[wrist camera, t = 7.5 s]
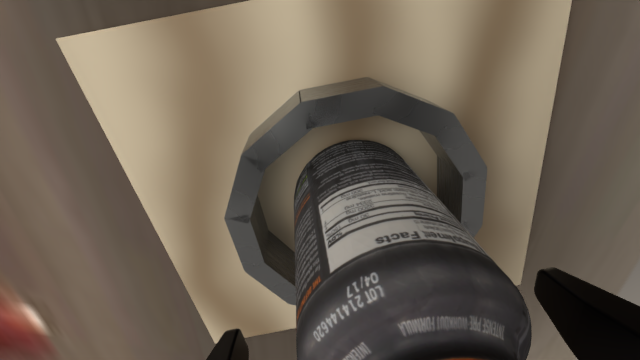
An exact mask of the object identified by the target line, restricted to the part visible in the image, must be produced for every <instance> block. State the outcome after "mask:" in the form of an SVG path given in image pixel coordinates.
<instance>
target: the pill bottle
mask: <svg viewBox="0 0 640 360" xmlns="http://www.w3.org/2000/svg"><path fill="white" fill-rule="evenodd" d="M294 241H295V287H296V343H297V360H526V359H527V356H528V353H529V349H530V345H531V320H530V316H529V312H528V309H527V306H526V304H525V302H524V299H523V297H522V295H521V294H520V292H519V290H518V289H517V287H516V286H515V285H514V284H513V282H512V281H511V279H510V278H509V277H508V276H507V275H506V274H505V273H504V272H503V271H502V270H501V269H500V267H499V266H498V265H497V264H496V263H495V262H494V261H493V260H492V258H491V257H490V256H489V255H488V254H487V253H486V252H485V251H484V249H483V248H482V247H481V246H480V245H479V244H478V243H477V241H476V240H475V239H474V238H473V237H472V236H471V235H470V233H469V232H468V231H467V230H466V229H465V228H464V227H463V226H462V224H461V223H460V222H459V221H458V220H457V219H456V218H455V217H454V215H453V214H452V213H451V212H450V211H449V210H448V209H447V208H446V207H445V205H444V204H443V203H442V202H441V201H440V200H439V199H438V198H437V196H436V195H435V194H434V193H433V192H432V191H431V190H430V189H429V188H428V186H427V185H426V184H425V183H424V182H423V181H422V180H421V179H420V178H419V177H418V175H417V174H416V173H415V172H414V171H413V170H412V169H411V168H410V166H409V165H408V164H407V163H406V162H405V161H404V160H403V158H402V157H401V156H400V155H399V154H397V153H396V152H395V151H394V150H392V149H391V148H389V147H387V146H385V145H383V144H380V143H378V142H374V141H369V140H348V141H344V142H340V143H337V144H334V145H332V146H330V147H327V148H325V149H324V150H322V151H321V152H319V153H318V154H316V155H315V156H314V157H313V158H312V159H311V160H310V161H309V162H308V163H307V164H306V166H305V167H304V169H303V171H302V172H301V174H300V176H299V178H298V180H297V183H296V188H295V193H294Z"/></svg>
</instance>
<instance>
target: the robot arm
mask: <svg viewBox="0 0 640 360" xmlns="http://www.w3.org/2000/svg"><path fill="white" fill-rule="evenodd" d="M534 292H535V295H536V297H537V299H538V301H539V302H540V304H541V305H542V307H543V308H544V310H545V311H546V313H547V315H548V316H549V318H550V319H551V321H552V322H553V324H554V325H555V327H556V328H557V330H558V332H559V333H560V335H561V336H562V338H563V339H564V341H565V342H566V344H567V345H568V347H569V348H570V349H571V351H572V352H573V353H574V355H575V356H576V357H577V359H578V360H640V306H638V305H636V304H633V303H631V302H629V301H627V300H625V299H623V298H620V297H618V296H616V295H614V294H612V293H609V292H607V291H605V290H603V289H601V288H598V287H596V286H594V285H592V284H590V283H588V282H585V281H583V280H581V279H579V278H577V277H574V276H572V275H570V274H568V273H566V272H563V271H561V270H559V269H557V268H546V269H541V270H539V271H538V273H537V277H536V282H535V287H534ZM248 359H249V351H248V345H247V343H246V340H245V338H244V336H243V334H242V332H241V330H240V329H239V328H236V329H231V330H227V331H225V332H224V334H223V335H222V337H221V338H220V340H219V341H218V343H217V344H216V346H215V347H214V349H213V350H212V352H211V353H210V355H209V356H208V358H207V359H206V360H248Z"/></svg>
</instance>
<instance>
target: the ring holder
mask: <svg viewBox="0 0 640 360" xmlns="http://www.w3.org/2000/svg"><path fill="white" fill-rule="evenodd" d="M571 3H572V0H250V1H245V2H240V3H235V4H230V5H225V6H220V7H215V8H210V9H205V10H200V11H195V12H189V13H184V14H179V15H174V16H169V17H164V18H159V19H154V20H149V21H144V22H139V23H134V24H129V25H123V26H118V27H113V28H108V29H103V30H98V31H93V32H88V33H83V34H78V35H73V36H68V37H63V38H57V39H56V41H57V43H58V44H59V46H60V48H61V50H62V52H63V54H64V56H65V58H66V60H67V62H68V64H69V65H70V67H71V69H72V71H73V73H74V75H75V77H76V79H77V81H78V83H79V85H80V86H81V88H82V90H83V92H84V94H85V96H86V98H87V100H88V102H89V104H90V106H91V107H92V109H93V111H94V113H95V115H96V117H97V119H98V121H99V123H100V125H101V127H102V128H103V130H104V132H105V134H106V136H107V138H108V140H109V142H110V144H111V146H112V148H113V149H114V151H115V153H116V155H117V157H118V159H119V161H120V163H121V165H122V167H123V169H124V170H125V172H126V174H127V176H128V178H129V180H130V182H131V184H132V186H133V188H134V190H135V191H136V193H137V195H138V197H139V199H140V201H141V203H142V205H143V207H144V209H145V211H146V212H147V214H148V216H149V218H150V220H151V222H152V224H153V226H154V228H155V230H156V232H157V233H158V235H159V237H160V239H161V241H162V243H163V245H164V247H165V249H166V251H167V253H168V254H169V256H170V258H171V260H172V262H173V264H174V266H175V268H176V270H177V272H178V274H179V275H180V277H181V279H182V281H183V283H184V285H185V287H186V289H187V291H188V293H189V295H190V296H191V298H192V300H193V302H194V304H195V306H196V308H197V310H198V312H199V314H200V316H201V317H202V319H203V321H204V323H205V325H206V327H207V329H208V331H209V333H210V335H211V337H212V338H213V340H214V342H215V343H218V341H219V340H220V338H221V337H222V335H223V334H224V332H225V331H227V330H231V329H236V328H239V329H240V330H241V332H242V334H243V336H244V338H246V337H251V336H256V335H261V334H267V333H272V332H277V331H282V330H287V329H292V328H296V287H295V241H294V193H295V188H296V183H297V180H298V178H299V176H300V174H301V172H302V171H303V169H304V167H305V166H306V164H307V163H308V162H309V161H310V160H311V159H312V158H313V157H314V156H315V155H316V154H318V153H319V152H321V151H322V150H324V149H325V148H327V147H330V146H332V145H334V144H337V143H340V142H344V141H348V140H369V141H374V142H378V143H380V144H383V145H385V146H387V147H389V148H391V149H392V150H394V151H395V152H396V153H397V154H399V155H400V156H401V157H402V158H403V160H404V161H405V162H406V163H407V164H408V165H409V166H410V168H411V169H412V170H413V171H414V172H415V173H416V174H417V175H418V177H419V178H420V179H421V180H422V181H423V182H424V183H425V184H426V185H427V186H428V188H429V189H430V190H431V191H432V192H433V193H434V194H435V195H436V196H437V198H438V199H439V200H440V201H441V202H442V203H443V204H444V205H445V207H446V208H447V209H448V210H449V211H450V212H451V213H452V214H453V215H454V217H455V218H456V219H457V220H458V221H459V222H460V223H461V224H462V226H463V227H464V228H465V229H466V230H467V231H468V232H469V233H470V235H471V236H472V237H473V238H474V239H475V240H476V241H477V243H478V244H479V245H480V246H481V247H482V248H483V249H484V251H485V252H486V253H487V254H488V255H489V256H490V257H491V258H492V260H493V261H494V262H495V263H496V264H497V265H498V266H499V267H500V269H501V270H502V271H503V272H504V273H505V274H506V275H507V276H508V277H509V278H510V279H511V281H512V282H513V284H514V285H515V286H516V285H521V280H522V274H523V269H524V263H525V258H526V252H527V246H528V241H529V235H530V230H531V224H532V219H533V213H534V208H535V202H536V197H537V191H538V186H539V180H540V175H541V169H542V164H543V158H544V153H545V147H546V141H547V136H548V130H549V125H550V119H551V114H552V108H553V103H554V97H555V92H556V86H557V81H558V75H559V70H560V64H561V59H562V53H563V48H564V42H565V36H566V31H567V25H568V20H569V14H570V9H571Z"/></svg>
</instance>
